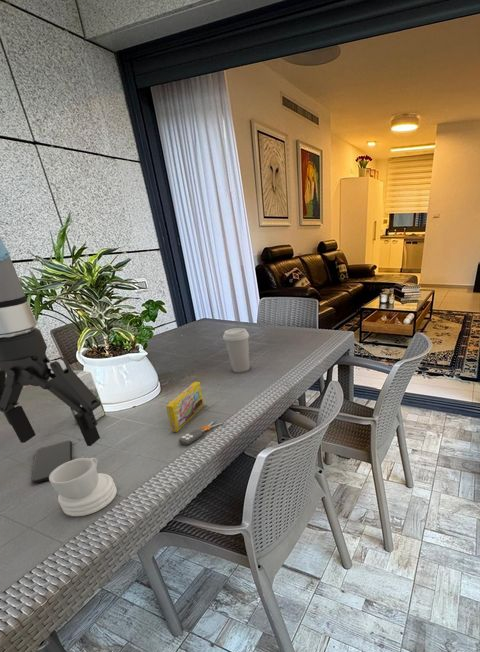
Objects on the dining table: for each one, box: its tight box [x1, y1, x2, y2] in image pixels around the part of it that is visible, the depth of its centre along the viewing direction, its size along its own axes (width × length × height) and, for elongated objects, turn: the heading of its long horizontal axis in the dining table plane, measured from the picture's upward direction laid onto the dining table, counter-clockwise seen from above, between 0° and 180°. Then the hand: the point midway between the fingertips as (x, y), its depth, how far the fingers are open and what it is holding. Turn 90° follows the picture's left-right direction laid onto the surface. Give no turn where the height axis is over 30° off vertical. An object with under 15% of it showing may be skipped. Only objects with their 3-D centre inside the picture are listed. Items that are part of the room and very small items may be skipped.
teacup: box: [48, 457, 99, 499], centre depth 71 cm, size 10×8×5 cm
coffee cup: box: [222, 327, 251, 373], centre depth 133 cm, size 10×10×15 cm
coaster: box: [57, 472, 118, 517], centre depth 74 cm, size 10×10×4 cm
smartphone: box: [31, 440, 73, 484], centre depth 87 cm, size 8×1×16 cm
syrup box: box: [69, 370, 106, 423], centre depth 102 cm, size 6×6×14 cm
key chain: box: [178, 421, 224, 446], centre depth 96 cm, size 13×4×2 cm, turn 149°
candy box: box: [165, 381, 205, 433], centre depth 102 cm, size 16×2×8 cm, turn 170°
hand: (60, 440), depth 67 cm, fingers open, 13 cm apart
